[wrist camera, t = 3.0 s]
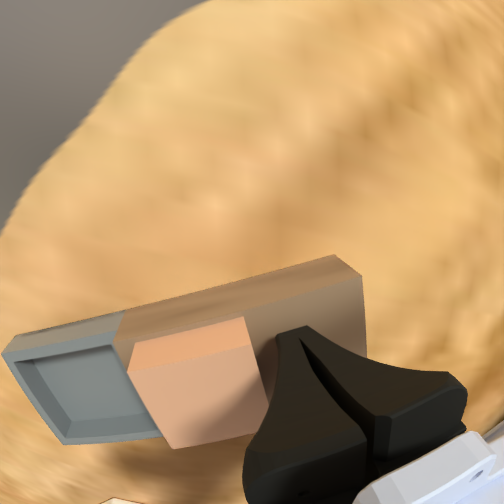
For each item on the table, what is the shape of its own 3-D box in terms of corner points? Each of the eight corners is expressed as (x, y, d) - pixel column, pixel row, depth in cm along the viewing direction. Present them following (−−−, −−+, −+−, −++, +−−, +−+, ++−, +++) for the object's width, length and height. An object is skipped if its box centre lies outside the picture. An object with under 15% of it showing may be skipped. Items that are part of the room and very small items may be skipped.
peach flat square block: (266, 397, 14) (275, 427, 12) (173, 418, 13) (172, 449, 12) (243, 316, 12) (251, 344, 10) (135, 342, 12) (126, 372, 10)
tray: (173, 410, 17) (172, 435, 15) (70, 423, 16) (63, 445, 14) (125, 309, 15) (117, 330, 13) (16, 335, 14) (0, 353, 12)
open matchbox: (346, 364, 18) (367, 395, 15) (173, 410, 17) (172, 448, 14) (334, 254, 16) (361, 275, 13) (125, 309, 15) (112, 342, 12)
